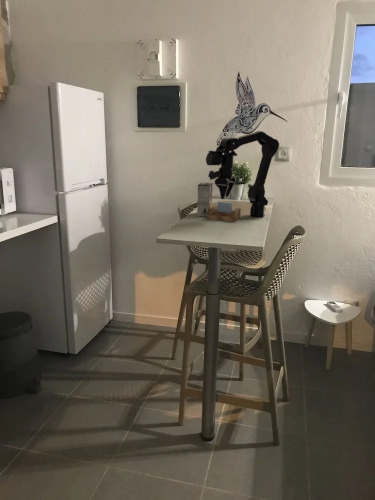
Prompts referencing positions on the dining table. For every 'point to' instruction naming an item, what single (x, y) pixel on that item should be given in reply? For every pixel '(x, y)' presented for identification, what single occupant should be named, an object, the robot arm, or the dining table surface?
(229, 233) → the dining table surface
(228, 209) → the blue-gray rectangular block
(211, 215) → the brown frame
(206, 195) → the coffee box
